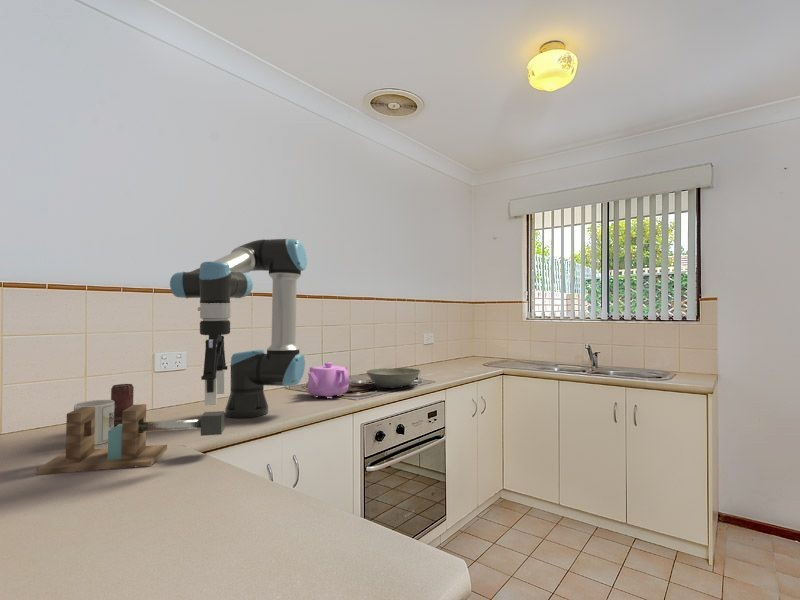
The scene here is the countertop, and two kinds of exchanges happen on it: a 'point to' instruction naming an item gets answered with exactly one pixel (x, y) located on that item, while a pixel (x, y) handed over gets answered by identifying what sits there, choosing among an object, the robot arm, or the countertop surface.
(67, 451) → the block
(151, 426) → the shaft
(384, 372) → the bowl
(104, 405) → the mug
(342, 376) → the teapot
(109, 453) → the block
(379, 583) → the countertop surface
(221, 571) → the countertop surface
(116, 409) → the can
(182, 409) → the countertop surface
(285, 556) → the countertop surface
